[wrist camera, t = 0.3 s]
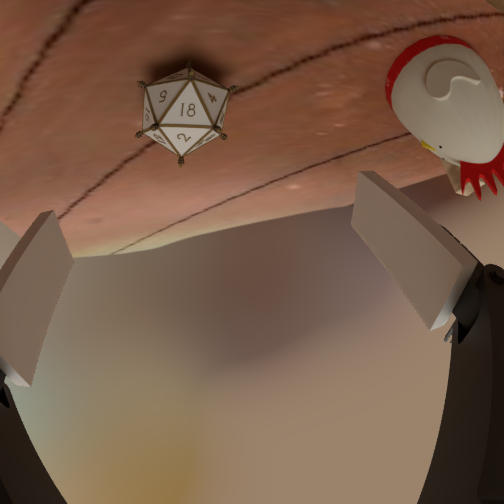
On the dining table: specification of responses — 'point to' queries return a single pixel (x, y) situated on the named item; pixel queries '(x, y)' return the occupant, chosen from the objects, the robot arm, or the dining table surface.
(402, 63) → the kitchen timer
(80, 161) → the dining table surface
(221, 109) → the game die
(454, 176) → the birch block
